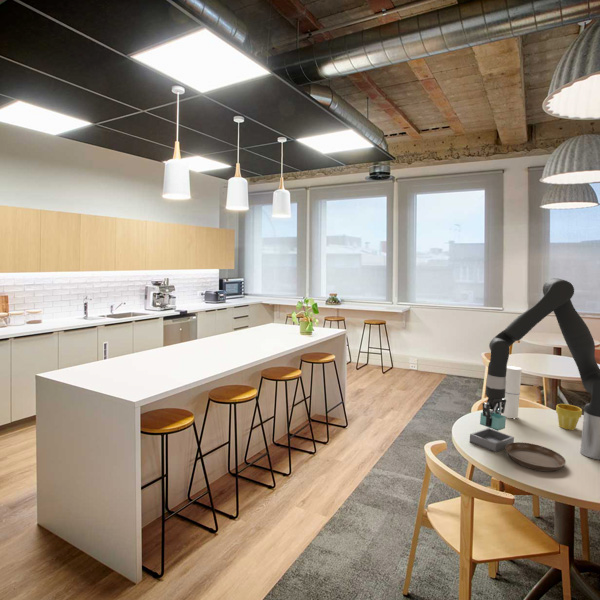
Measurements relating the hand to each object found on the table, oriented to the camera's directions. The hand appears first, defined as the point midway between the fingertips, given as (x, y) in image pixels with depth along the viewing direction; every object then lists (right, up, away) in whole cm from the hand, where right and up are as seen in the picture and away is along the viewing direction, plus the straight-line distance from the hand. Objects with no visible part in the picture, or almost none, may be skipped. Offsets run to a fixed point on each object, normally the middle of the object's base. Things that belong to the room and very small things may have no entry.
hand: (492, 424), depth 180 cm
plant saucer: (+10, -10, -14) cm, 20 cm away
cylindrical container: (+24, -6, +34) cm, 42 cm away
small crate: (0, -1, 0) cm, 1 cm away
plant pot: (+46, -8, +23) cm, 51 cm away
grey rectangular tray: (0, -8, +1) cm, 8 cm away
